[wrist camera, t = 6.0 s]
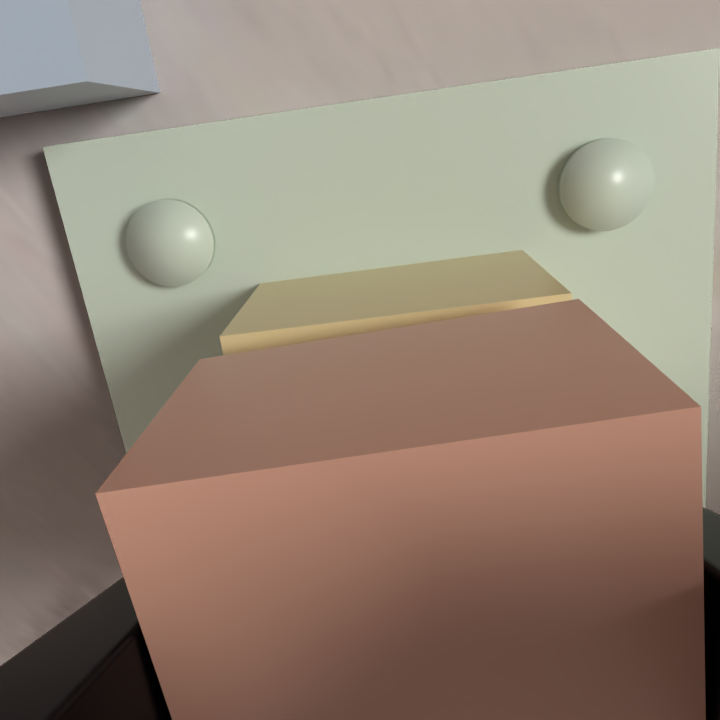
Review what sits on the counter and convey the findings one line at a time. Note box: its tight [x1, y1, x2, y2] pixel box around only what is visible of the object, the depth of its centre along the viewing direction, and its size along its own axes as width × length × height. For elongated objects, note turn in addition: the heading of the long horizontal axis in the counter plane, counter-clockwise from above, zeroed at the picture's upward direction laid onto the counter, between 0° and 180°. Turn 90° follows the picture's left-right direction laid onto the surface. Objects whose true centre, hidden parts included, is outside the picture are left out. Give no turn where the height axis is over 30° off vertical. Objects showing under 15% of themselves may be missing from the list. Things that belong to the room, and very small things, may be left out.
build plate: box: [43, 48, 720, 508], centre depth 12 cm, size 12×11×4 cm
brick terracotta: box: [95, 299, 706, 720], centre depth 8 cm, size 5×5×4 cm
